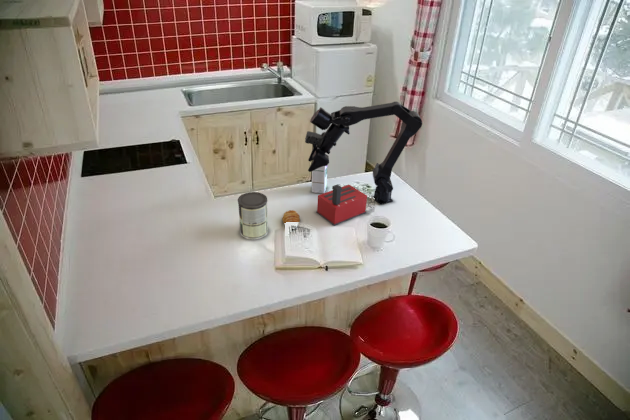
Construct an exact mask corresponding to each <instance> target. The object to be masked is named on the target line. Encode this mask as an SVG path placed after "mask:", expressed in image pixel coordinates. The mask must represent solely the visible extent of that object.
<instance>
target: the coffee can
mask: <svg viewBox="0 0 630 420" xmlns="http://www.w3.org/2000/svg"><path fill="white" fill-rule="evenodd" d="M237 204H238V216H239V217H238V218H239V230H240V231H239V232H240V235H241V237H243V238H244V239H246V240H252V241H254V240H256V241H257V240H260V239H262V238H265V237H266V236H267V235H268V234H269V230H268V229H269V225H268V224H269V223H268V196H267V195H266V194H264V193H263V192H262V193H261V192H257V191H250V192H244V193H243V194H240V195H239V196H238V197H237Z"/></svg>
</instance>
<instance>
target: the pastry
mask: <svg viewBox="0 0 630 420" xmlns="http://www.w3.org/2000/svg"><path fill="white" fill-rule="evenodd" d="M300 217H301V216H300V214H299V213H298V212H297V211H296V210H294V209H290V210H287V211H285V212H284V213H283V214H282V217H281V221H282V224H284V223H286V222H300V223H301V219H300Z"/></svg>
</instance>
